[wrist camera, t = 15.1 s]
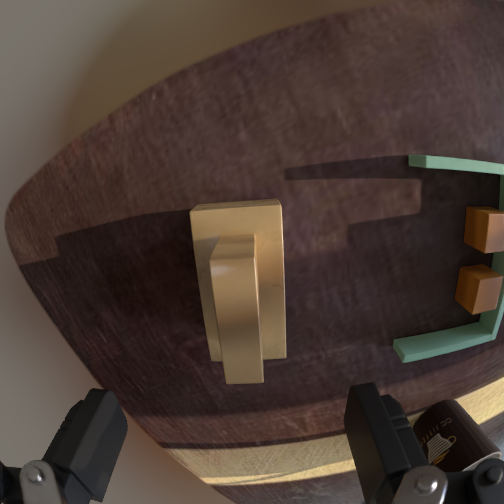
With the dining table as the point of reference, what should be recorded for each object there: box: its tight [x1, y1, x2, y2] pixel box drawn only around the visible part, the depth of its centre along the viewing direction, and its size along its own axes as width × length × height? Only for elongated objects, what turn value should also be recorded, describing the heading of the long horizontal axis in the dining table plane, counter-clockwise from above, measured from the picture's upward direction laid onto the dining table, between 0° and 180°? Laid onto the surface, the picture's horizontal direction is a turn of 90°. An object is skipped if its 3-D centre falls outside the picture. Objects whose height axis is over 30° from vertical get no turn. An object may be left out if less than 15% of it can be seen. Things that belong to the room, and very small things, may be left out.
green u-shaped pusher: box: [393, 155, 504, 363], centre depth 19 cm, size 17×16×2 cm
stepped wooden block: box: [189, 199, 286, 384], centre depth 18 cm, size 10×5×8 cm, turn 4°
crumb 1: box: [463, 206, 504, 253], centre depth 18 cm, size 3×3×3 cm
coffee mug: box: [413, 399, 502, 472], centre depth 22 cm, size 12×9×10 cm
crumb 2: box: [454, 264, 503, 315], centre depth 20 cm, size 3×3×3 cm
